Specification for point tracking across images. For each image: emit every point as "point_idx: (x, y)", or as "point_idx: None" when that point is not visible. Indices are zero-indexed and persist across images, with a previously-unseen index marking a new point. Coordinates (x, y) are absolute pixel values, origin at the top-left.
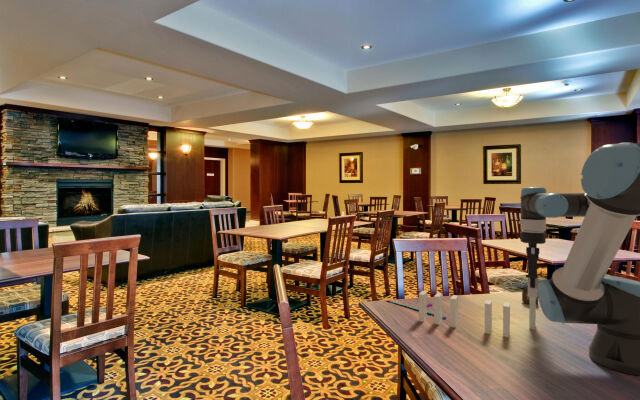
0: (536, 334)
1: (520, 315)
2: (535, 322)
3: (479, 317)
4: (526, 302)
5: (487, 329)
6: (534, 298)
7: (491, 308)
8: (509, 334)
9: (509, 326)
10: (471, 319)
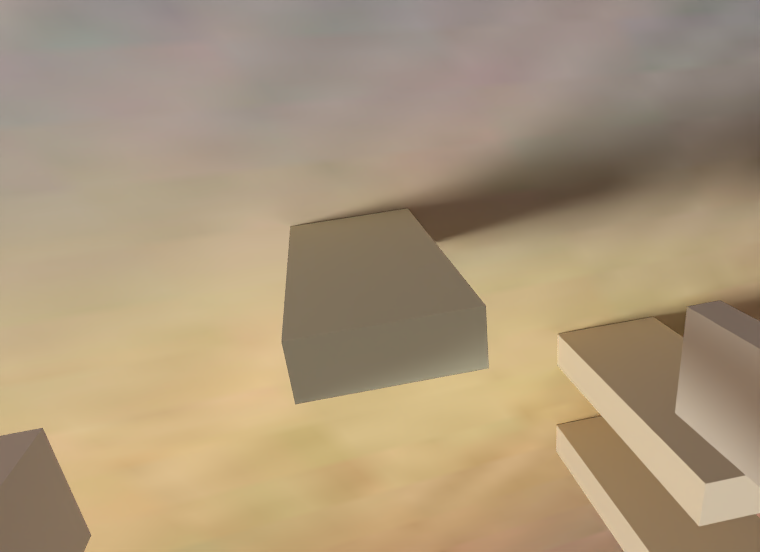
0: (508, 187)
1: (113, 360)
2: (420, 224)
3: (378, 533)
4: None
5: None
6: (370, 337)
7: (684, 537)
8: (625, 326)
9: (668, 353)
10: (447, 549)
